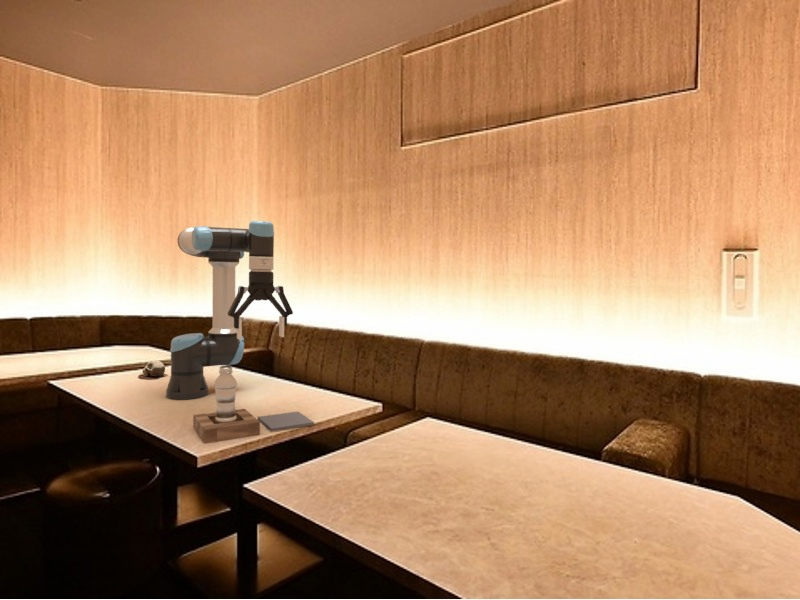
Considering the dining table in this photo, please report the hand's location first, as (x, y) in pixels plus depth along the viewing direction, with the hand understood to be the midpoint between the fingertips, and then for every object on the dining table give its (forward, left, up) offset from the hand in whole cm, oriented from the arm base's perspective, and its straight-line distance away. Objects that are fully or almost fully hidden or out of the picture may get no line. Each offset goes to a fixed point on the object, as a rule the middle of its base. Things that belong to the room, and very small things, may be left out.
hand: (260, 337), depth 169 cm
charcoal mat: (+2, +8, -28) cm, 29 cm away
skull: (-89, -20, -28) cm, 96 cm away
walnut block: (+2, -11, -28) cm, 30 cm away
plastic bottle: (+2, -11, -28) cm, 30 cm away
